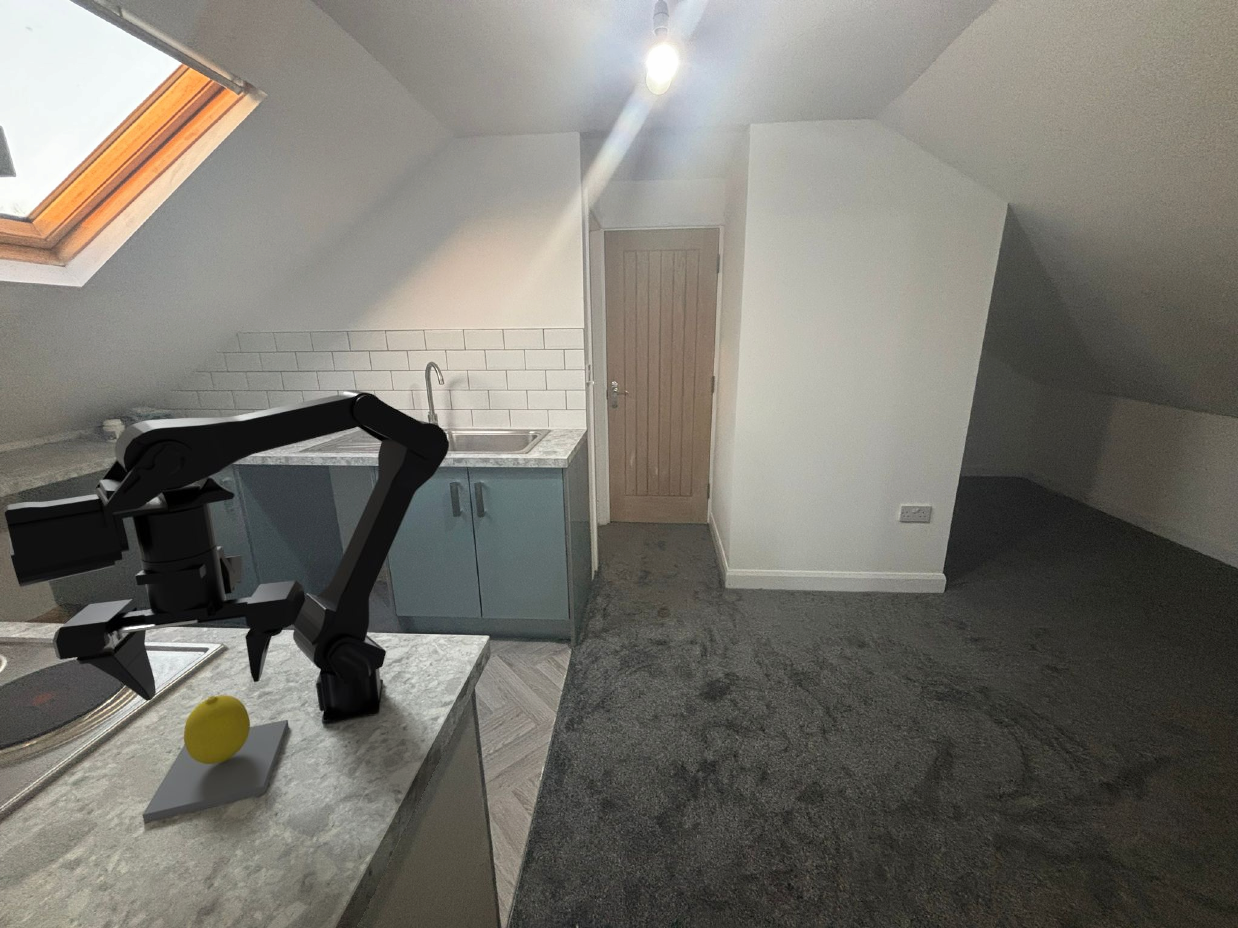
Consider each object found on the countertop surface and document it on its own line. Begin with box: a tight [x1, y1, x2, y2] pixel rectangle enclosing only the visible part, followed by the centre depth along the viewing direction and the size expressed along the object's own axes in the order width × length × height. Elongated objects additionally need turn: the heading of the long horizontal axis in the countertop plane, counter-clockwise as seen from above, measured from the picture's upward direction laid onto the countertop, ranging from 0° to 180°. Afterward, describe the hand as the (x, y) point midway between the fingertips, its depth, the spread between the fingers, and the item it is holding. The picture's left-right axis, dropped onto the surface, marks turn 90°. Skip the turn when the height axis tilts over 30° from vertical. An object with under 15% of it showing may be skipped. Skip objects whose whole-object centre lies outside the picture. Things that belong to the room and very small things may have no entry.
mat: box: [142, 719, 289, 824], centre depth 55 cm, size 10×10×1 cm
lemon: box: [183, 694, 251, 764], centre depth 55 cm, size 6×6×8 cm
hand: (206, 688), depth 53 cm, fingers open, 9 cm apart
